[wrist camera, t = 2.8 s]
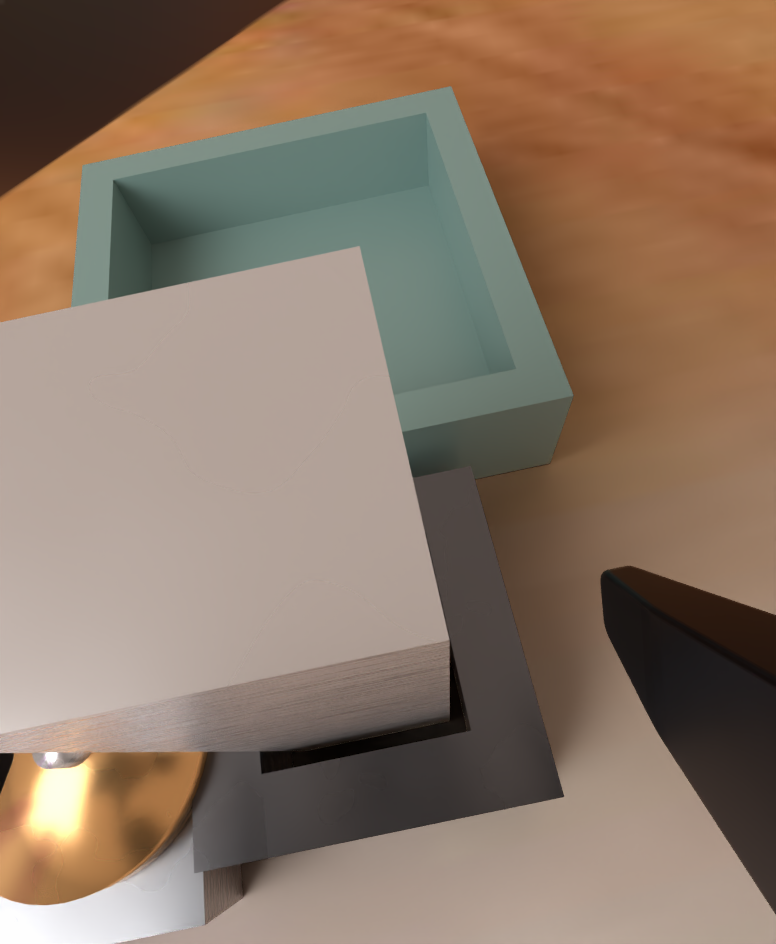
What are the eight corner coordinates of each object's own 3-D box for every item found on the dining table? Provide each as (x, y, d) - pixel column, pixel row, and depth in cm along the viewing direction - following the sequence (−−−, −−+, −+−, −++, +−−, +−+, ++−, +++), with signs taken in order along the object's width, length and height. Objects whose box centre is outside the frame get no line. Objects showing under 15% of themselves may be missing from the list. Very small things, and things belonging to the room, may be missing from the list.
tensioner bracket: (555, 833, 14) (592, 862, 11) (29, 942, 14) (-119, 1009, 11) (467, 507, 18) (472, 444, 15) (55, 594, 18) (-47, 554, 15)
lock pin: (449, 720, 16) (449, 639, 4) (306, 750, 16) (-95, 752, 4) (419, 580, 18) (359, 246, 6) (291, 607, 18) (-23, 327, 6)
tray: (550, 463, 19) (573, 395, 15) (130, 551, 19) (55, 505, 15) (450, 181, 25) (451, 86, 21) (135, 248, 25) (82, 165, 21)
